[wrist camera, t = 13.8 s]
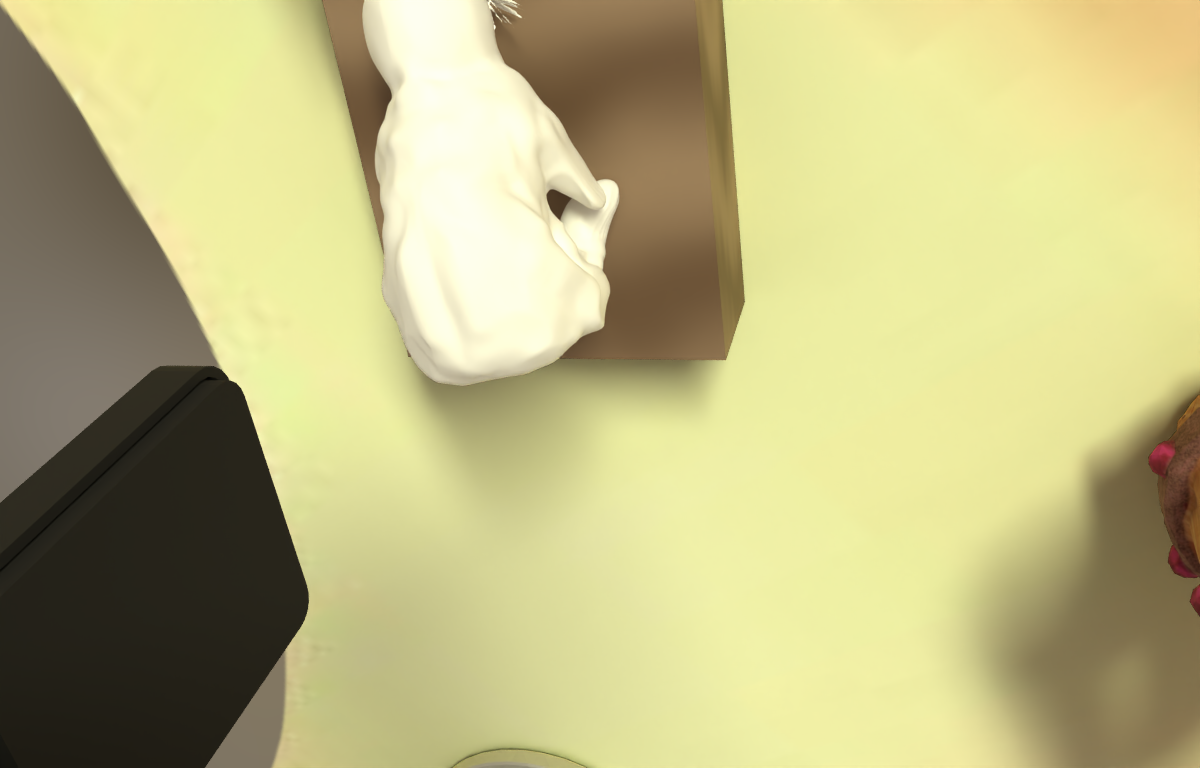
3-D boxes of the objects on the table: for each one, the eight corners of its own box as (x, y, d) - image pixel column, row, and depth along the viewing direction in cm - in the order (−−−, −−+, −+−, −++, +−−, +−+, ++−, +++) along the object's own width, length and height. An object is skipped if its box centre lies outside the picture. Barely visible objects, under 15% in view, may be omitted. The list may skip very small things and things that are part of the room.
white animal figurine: (387, 428, 33) (210, 18, 29) (493, 319, 41) (364, -22, 37) (584, 391, 31) (420, -62, 27) (658, 281, 38) (539, -88, 34)
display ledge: (744, 301, 43) (711, 405, 37) (451, 302, 47) (375, 398, 40) (704, -236, 34) (651, -218, 28) (346, -187, 38) (228, -161, 32)
